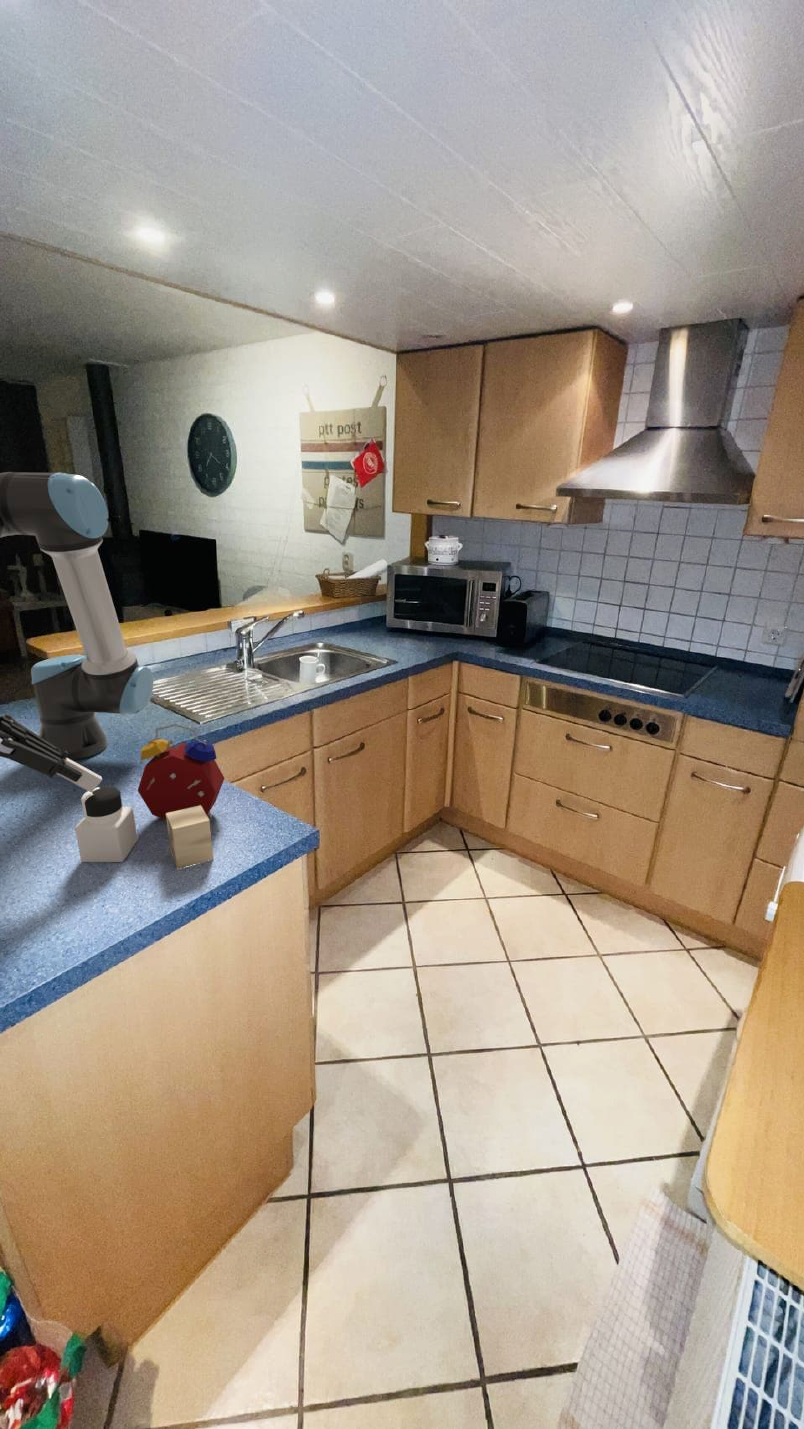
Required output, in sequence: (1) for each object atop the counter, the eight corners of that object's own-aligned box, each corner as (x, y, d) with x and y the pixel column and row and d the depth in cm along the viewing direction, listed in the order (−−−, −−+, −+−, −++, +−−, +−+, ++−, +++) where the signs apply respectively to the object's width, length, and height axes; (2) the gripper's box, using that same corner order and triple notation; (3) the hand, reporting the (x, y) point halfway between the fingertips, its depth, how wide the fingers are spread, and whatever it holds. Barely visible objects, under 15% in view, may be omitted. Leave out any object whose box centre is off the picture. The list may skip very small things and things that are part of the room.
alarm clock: (227, 810, 119) (219, 718, 112) (215, 833, 111) (205, 736, 104) (155, 808, 119) (142, 716, 112) (136, 831, 111) (122, 734, 104)
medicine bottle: (138, 840, 108) (129, 782, 104) (122, 862, 101) (112, 801, 97) (99, 840, 108) (88, 782, 104) (80, 863, 101) (68, 801, 97)
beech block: (170, 852, 105) (165, 813, 102) (204, 843, 108) (200, 805, 105) (177, 869, 100) (172, 829, 97) (213, 859, 103) (209, 820, 100)
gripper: (-61, 713, 90) (78, 786, 104) (-72, 742, 80) (84, 819, 94) (-27, 676, 91) (107, 753, 105) (-33, 700, 81) (116, 782, 95)
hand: (96, 784), depth 100 cm, fingers closed
